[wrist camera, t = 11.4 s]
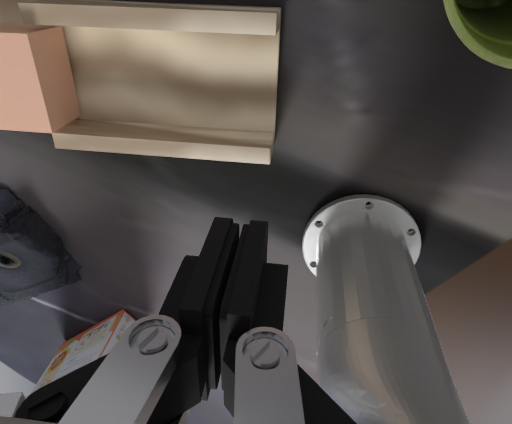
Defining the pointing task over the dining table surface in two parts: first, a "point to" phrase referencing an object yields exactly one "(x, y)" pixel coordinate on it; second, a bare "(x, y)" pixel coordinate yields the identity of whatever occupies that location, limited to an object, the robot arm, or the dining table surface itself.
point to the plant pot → (483, 28)
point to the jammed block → (35, 79)
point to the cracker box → (86, 347)
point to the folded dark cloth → (30, 254)
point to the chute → (166, 76)
